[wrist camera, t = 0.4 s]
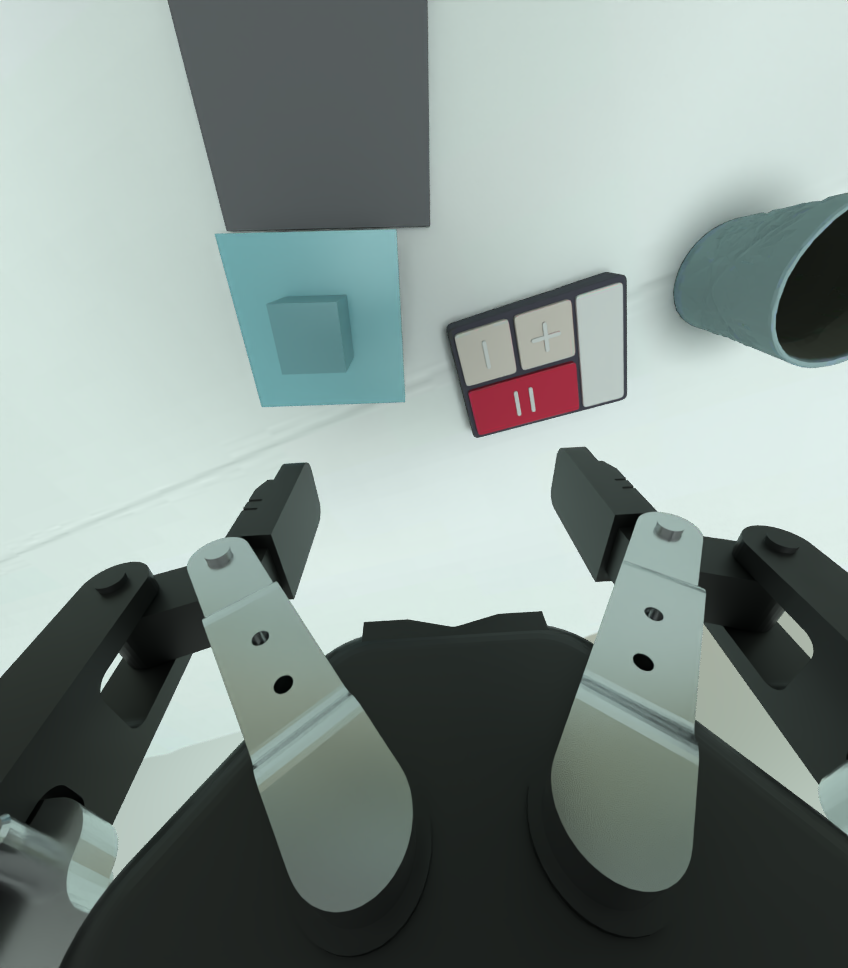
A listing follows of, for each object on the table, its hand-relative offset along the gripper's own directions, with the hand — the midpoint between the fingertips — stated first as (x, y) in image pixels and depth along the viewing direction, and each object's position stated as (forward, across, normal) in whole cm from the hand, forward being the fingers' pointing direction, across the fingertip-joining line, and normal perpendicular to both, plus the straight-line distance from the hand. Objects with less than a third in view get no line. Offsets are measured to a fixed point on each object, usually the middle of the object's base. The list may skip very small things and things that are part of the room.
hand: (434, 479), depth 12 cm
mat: (+26, +6, -16) cm, 32 cm away
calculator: (+27, -11, +3) cm, 29 cm away
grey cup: (+27, -27, -3) cm, 38 cm away
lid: (+20, +7, -2) cm, 21 cm away
